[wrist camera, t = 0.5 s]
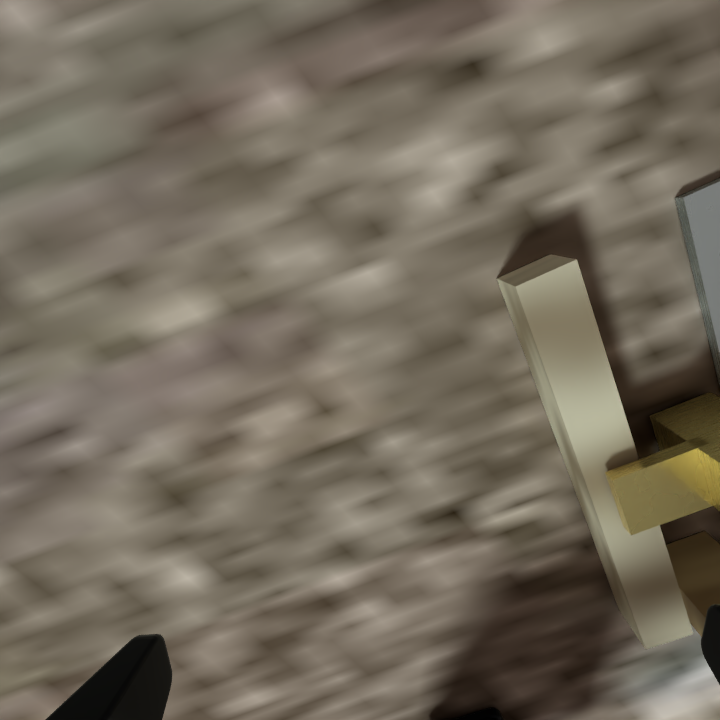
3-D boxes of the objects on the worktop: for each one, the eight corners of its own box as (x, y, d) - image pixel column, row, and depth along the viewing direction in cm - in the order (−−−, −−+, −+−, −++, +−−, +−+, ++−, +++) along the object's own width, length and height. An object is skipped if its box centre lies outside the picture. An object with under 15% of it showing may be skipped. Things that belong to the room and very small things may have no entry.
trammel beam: (813, 543, 23) (960, 648, 18) (619, 609, 25) (697, 727, 19) (741, 167, 18) (922, 144, 12) (496, 278, 19) (555, 304, 13)
